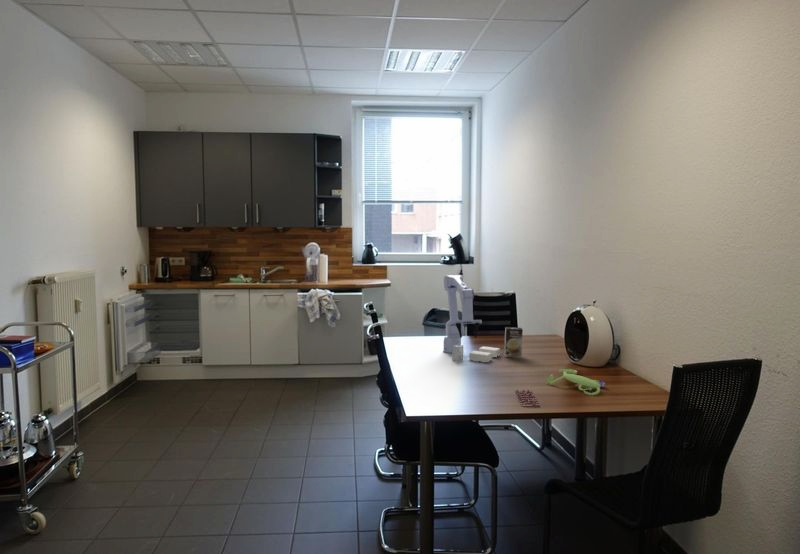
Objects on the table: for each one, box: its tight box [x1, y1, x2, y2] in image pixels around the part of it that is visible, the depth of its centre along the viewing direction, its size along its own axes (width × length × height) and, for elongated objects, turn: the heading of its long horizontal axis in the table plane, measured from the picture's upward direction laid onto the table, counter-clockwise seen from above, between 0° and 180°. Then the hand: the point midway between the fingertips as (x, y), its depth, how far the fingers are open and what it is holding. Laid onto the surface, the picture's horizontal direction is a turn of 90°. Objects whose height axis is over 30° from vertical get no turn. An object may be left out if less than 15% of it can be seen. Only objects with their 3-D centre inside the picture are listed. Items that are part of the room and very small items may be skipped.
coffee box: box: [503, 326, 524, 359], centre depth 305 cm, size 9×6×16 cm
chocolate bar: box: [514, 389, 541, 407], centre depth 229 cm, size 7×19×2 cm, turn 176°
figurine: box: [545, 368, 606, 396], centre depth 250 cm, size 18×27×6 cm
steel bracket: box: [451, 344, 464, 363], centre depth 295 cm, size 4×5×8 cm
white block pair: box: [469, 346, 501, 363], centre depth 302 cm, size 10×20×4 cm, turn 150°
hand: (468, 337), depth 292 cm, fingers open, 7 cm apart
